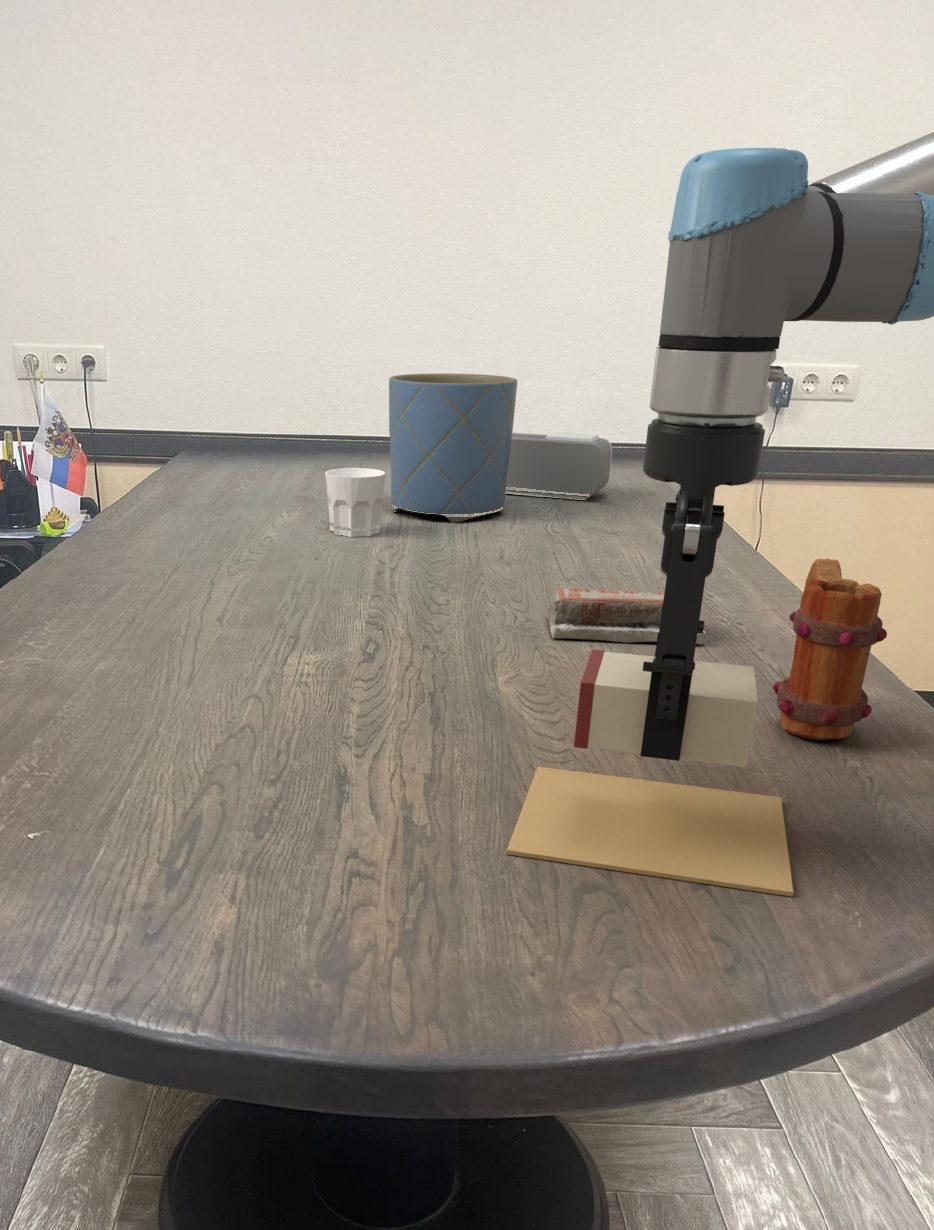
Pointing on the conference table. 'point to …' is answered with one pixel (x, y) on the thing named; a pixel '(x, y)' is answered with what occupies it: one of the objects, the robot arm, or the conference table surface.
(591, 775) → the cork mat
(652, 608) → the grey boxy piece
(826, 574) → the mug
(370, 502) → the cup
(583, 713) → the red-capped cream block
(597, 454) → the grey rounded block
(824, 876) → the conference table surface
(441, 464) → the planter
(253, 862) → the conference table surface
